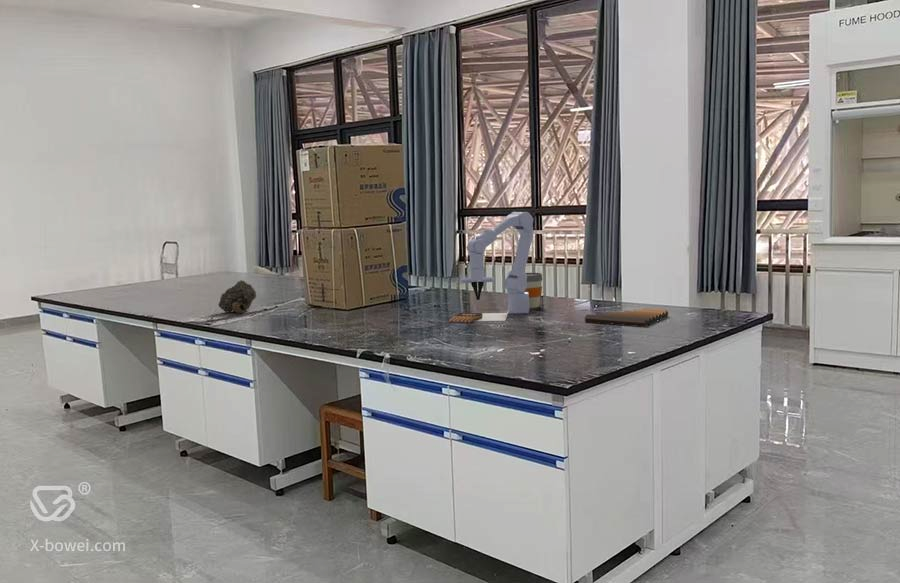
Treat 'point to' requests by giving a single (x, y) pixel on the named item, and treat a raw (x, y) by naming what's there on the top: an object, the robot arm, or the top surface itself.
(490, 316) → the mat
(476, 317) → the ammunition clip
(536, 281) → the reusable coffee cup
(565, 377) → the top surface
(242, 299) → the rock
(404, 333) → the top surface
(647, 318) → the pan flute
